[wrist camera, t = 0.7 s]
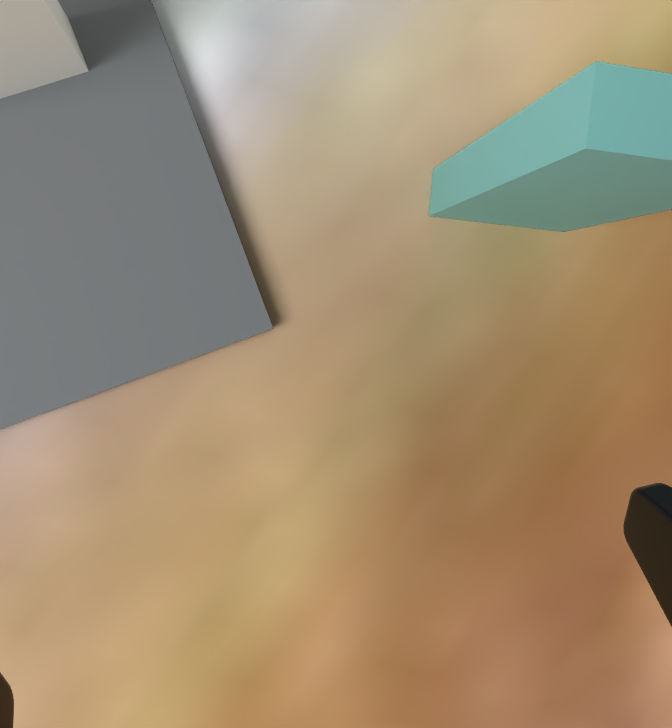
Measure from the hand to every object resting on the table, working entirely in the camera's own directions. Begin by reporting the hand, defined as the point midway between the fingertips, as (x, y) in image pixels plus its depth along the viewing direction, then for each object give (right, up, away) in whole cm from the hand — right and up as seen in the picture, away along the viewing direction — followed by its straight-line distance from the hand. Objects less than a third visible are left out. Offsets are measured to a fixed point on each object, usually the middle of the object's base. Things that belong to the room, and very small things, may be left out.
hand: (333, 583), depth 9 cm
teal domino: (+6, +9, +14) cm, 17 cm away
